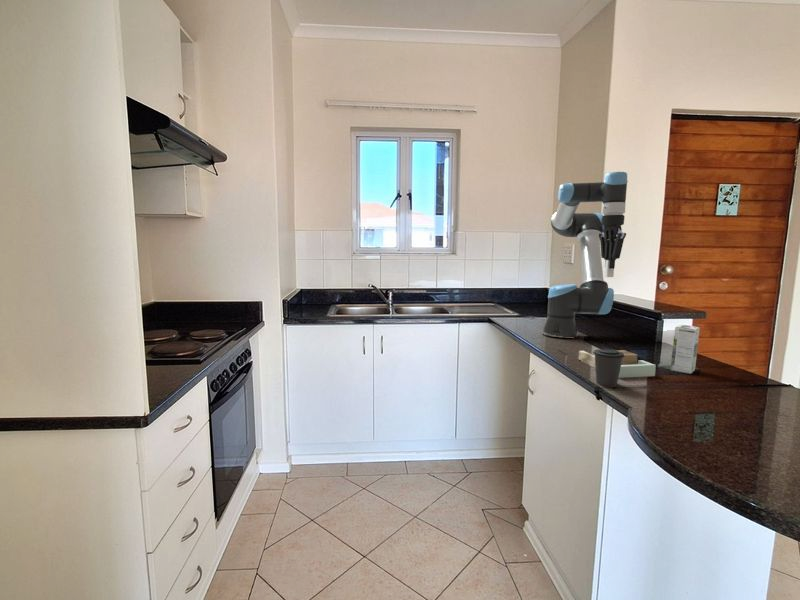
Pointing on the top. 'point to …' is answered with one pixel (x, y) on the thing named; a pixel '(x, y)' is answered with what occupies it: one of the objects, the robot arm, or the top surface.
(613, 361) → the coffee cup
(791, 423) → the top surface
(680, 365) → the syrup box
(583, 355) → the tunnel
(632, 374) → the backstop bay
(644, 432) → the top surface
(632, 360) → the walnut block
